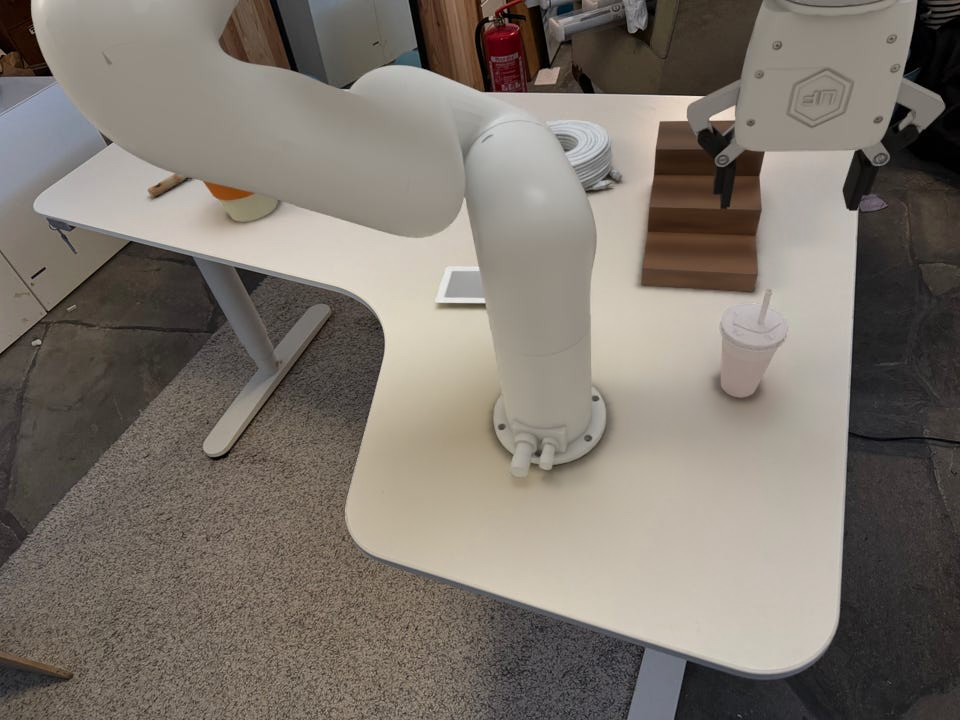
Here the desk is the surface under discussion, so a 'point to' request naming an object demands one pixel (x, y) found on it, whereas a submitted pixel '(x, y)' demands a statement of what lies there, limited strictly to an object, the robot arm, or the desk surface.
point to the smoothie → (749, 344)
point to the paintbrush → (166, 184)
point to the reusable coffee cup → (242, 202)
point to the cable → (586, 151)
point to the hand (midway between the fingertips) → (785, 200)
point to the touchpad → (461, 285)
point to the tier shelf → (700, 216)
